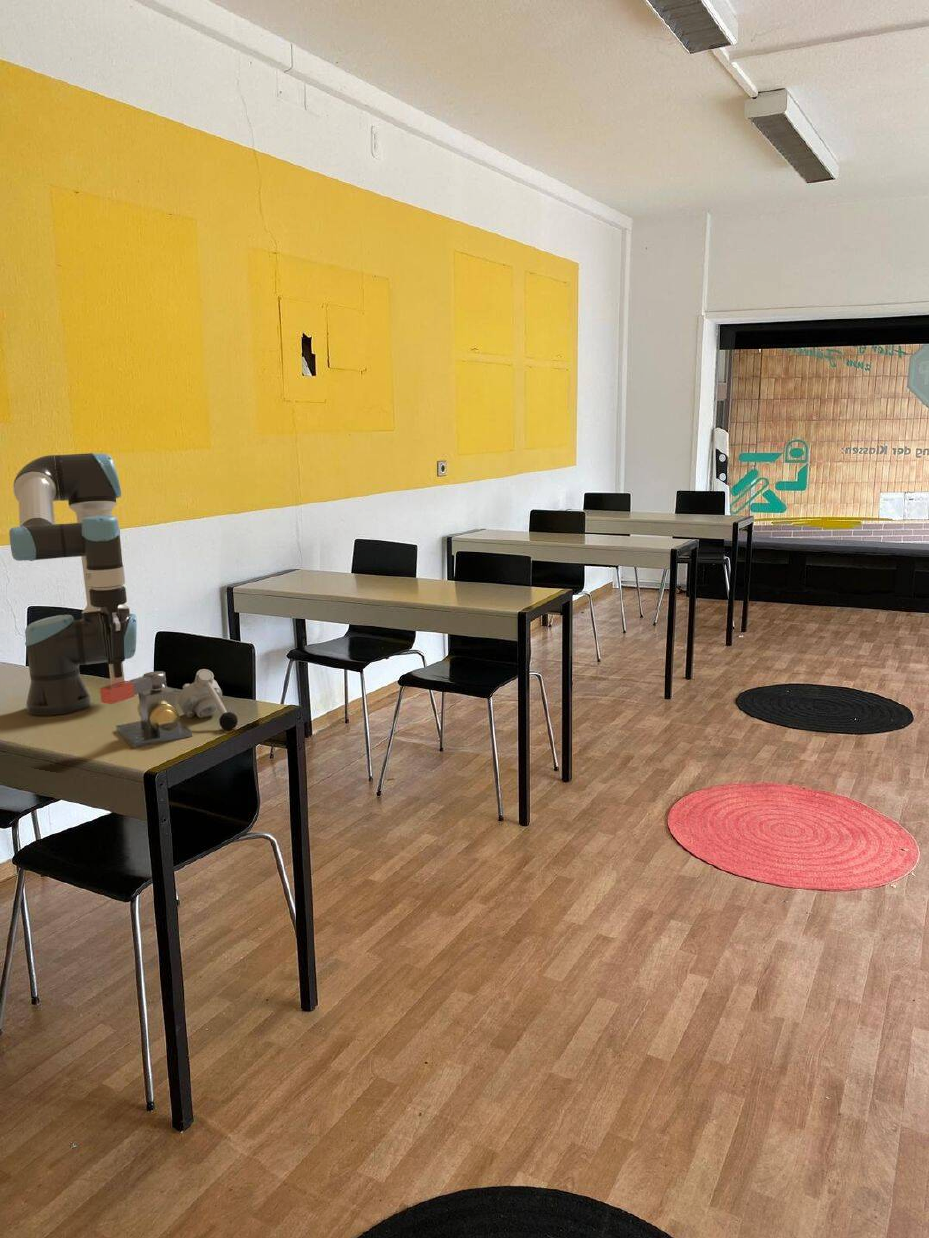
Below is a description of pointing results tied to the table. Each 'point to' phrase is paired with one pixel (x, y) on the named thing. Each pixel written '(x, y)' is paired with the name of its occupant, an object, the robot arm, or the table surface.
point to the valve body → (155, 720)
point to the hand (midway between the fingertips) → (118, 690)
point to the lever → (132, 687)
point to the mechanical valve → (205, 699)
